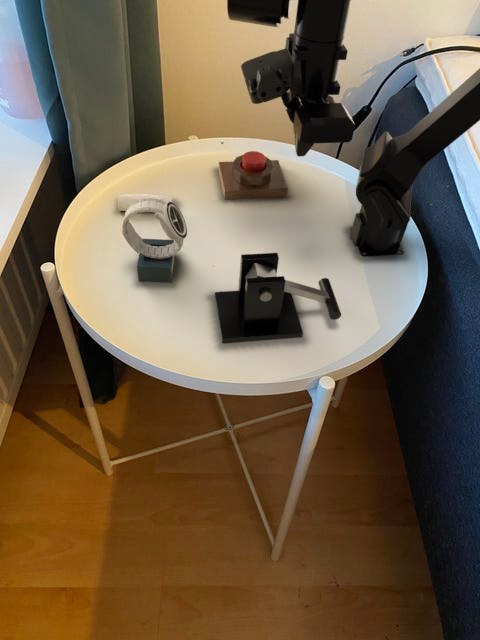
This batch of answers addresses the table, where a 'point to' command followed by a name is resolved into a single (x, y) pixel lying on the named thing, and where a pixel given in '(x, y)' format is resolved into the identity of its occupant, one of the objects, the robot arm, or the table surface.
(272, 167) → the button block
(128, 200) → the white curved plate
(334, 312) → the lever
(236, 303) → the bracket
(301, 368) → the table surface
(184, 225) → the watch
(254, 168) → the button
